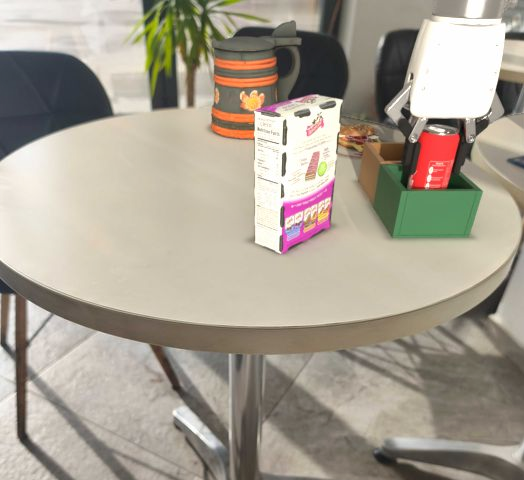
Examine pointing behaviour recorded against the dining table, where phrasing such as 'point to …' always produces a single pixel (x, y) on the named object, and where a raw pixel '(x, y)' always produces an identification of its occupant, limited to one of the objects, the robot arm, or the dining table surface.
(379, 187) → the bin
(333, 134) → the candy bar box
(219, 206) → the dining table surface
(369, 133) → the hamburger
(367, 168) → the paper bin
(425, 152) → the beverage can
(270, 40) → the beer stein
